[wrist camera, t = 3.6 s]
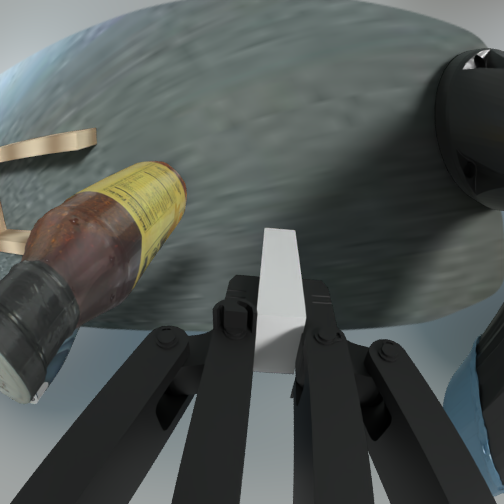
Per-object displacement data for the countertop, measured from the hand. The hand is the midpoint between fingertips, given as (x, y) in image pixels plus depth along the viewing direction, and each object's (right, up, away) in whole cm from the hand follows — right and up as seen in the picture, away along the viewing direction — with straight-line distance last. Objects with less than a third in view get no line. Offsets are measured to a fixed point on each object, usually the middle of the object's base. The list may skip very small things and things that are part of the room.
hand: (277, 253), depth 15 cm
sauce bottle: (-9, +5, +9) cm, 14 cm away
